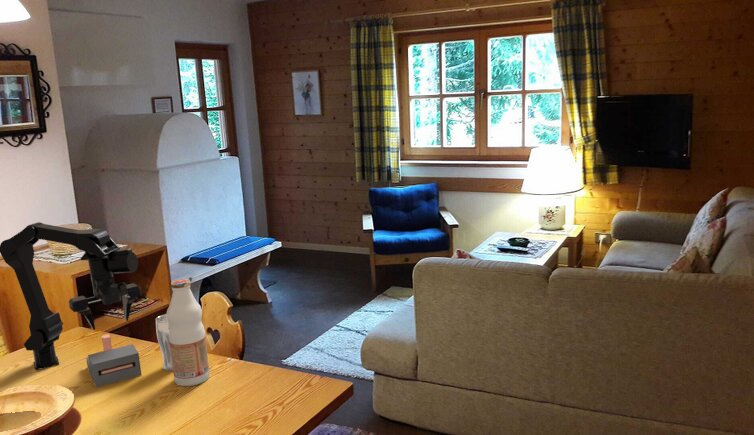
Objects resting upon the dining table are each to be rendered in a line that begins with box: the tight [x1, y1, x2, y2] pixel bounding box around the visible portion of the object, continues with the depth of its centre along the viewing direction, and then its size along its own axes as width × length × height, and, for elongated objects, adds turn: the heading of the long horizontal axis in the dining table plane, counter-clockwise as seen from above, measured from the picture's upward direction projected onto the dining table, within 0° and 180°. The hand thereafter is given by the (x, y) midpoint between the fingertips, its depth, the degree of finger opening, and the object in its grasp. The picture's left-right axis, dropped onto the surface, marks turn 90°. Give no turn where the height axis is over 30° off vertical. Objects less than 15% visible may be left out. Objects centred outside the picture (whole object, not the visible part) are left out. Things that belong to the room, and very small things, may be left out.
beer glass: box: [155, 313, 173, 372], centre depth 178 cm, size 7×7×15 cm
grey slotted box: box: [85, 343, 142, 388], centre depth 178 cm, size 16×12×7 cm
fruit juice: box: [166, 278, 210, 387], centre depth 168 cm, size 9×9×28 cm
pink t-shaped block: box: [100, 333, 133, 374], centre depth 177 cm, size 16×8×5 cm, turn 32°
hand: (110, 325), depth 180 cm, fingers open, 9 cm apart
